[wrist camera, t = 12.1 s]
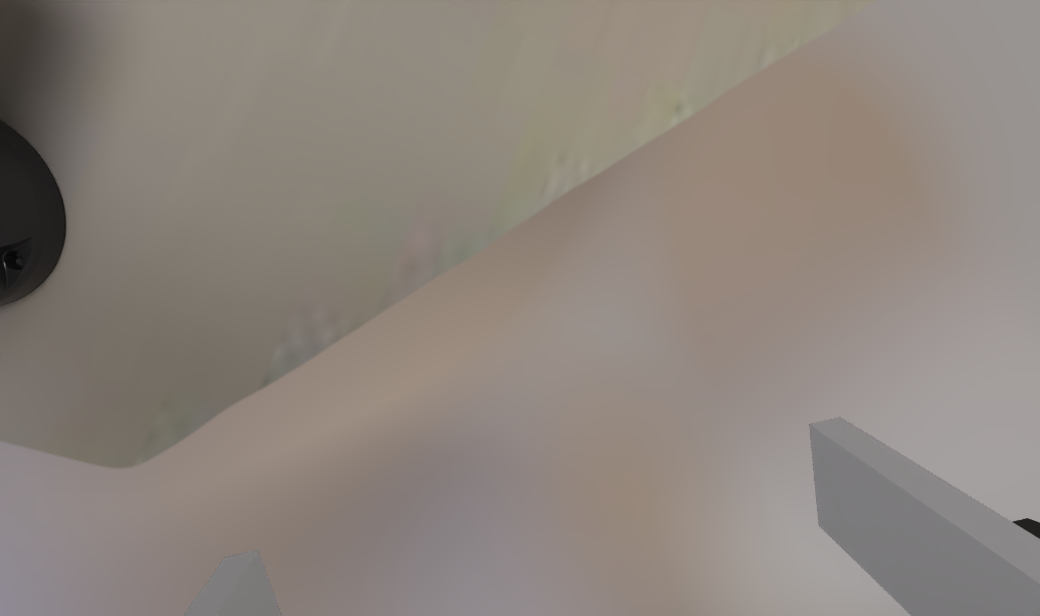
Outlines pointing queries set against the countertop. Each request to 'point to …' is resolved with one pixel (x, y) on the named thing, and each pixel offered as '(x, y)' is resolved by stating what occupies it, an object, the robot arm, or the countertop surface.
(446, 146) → the countertop surface
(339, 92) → the countertop surface
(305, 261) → the countertop surface
